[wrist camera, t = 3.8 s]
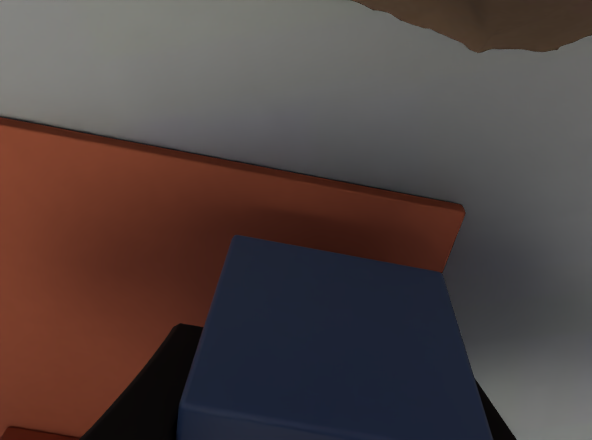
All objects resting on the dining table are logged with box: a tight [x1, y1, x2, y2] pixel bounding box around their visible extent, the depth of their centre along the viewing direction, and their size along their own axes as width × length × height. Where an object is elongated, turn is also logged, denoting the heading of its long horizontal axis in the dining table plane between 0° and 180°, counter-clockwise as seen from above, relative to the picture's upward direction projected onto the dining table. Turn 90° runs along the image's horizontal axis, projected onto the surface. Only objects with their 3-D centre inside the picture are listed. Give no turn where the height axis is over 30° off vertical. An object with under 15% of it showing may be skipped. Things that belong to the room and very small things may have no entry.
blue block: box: [176, 235, 493, 440], centre depth 9 cm, size 4×4×4 cm
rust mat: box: [0, 117, 465, 438], centre depth 14 cm, size 14×11×1 cm
